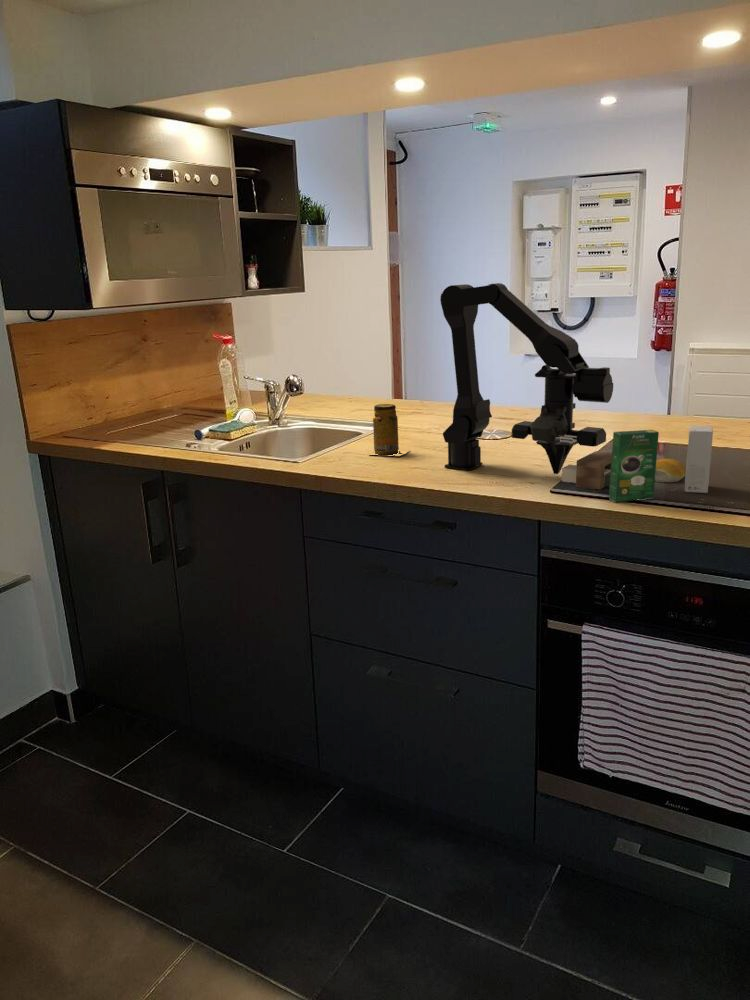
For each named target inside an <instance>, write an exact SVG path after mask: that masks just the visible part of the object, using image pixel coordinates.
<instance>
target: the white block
mask: <svg viewBox="0 0 750 1000" xmlns="http://www.w3.org/2000/svg"><path fill="white" fill-rule="evenodd" d="M576 469H577V464H568V465H566V466H564V467H562V468H561V482H564V483H570V482H573V483H572V484H576ZM610 475H611V470H609V469H605V472H604V487H606V486H609V487H608V488H610Z"/></svg>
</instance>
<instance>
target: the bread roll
mask: <svg viewBox="0 0 750 1000" xmlns="http://www.w3.org/2000/svg"><path fill="white" fill-rule="evenodd" d="M685 476H686V466H684V464H682V463H681V461H678V460H676V459H672V458H662V459H661V458H660V459H657V461H656V472H655V481H656V483H664V482H666V483H668V482H669V483H675V482H679V481H680V480H682V479H683V478H685ZM666 483H665V484H666Z"/></svg>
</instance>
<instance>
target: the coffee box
mask: <svg viewBox="0 0 750 1000" xmlns="http://www.w3.org/2000/svg"><path fill="white" fill-rule="evenodd" d="M659 436H660V435H659V431H657V430H654V429H642V430H641V429H639V430H626V431H625V430H623V431H622V430H621V431H613V433H612V447H611V453H612V460H611V475H610V487H609V491H608V492H609V495H608V496H609V497H608V499H609V500H610V501H611V502H612V503H620V502H622V503H626V502H632V501H633V500H635V501H638V500H637V499H645V498H653V499H654V495H655V472H656V461H657V460H658V459H657V458H658V447H659Z"/></svg>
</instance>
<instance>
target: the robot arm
mask: <svg viewBox="0 0 750 1000" xmlns="http://www.w3.org/2000/svg"><path fill="white" fill-rule="evenodd" d="M439 301H440V305H441V310H442V314H443V317H444V319H445V321H446V322H447V324H448V325H449V327H450V328H449V329H450V331H451V340H452V350H453V362H454V370H455V381H456V382H455V383H456V393H457V396H456V398H455V399H456V400H455V402H454V405H453V411H452V423H451V424H450V425H449V426H448V427H447V428H446V429H445V430H444V431H443V433H442V437H443V439H444V442H445V443H447V464H444V466H443V467H444V468H447V469H453V470H454V469H455V470H459V471H460V470H461V471H471V470H474V469H475V468H478V467H480V466H481V467H482V466H483V464H484V463H483V462H482V461H481V459H482V457H481V455H482V454H481V451H482V450H481V449H482V448H481V446H480V439H479V438H481V437H482V435H483V432H484V430H485V429H486V428H487V427H488V426H489V424H490V419H491V418H492V416H493V415H492V413H491V399H489V398H488V399H484V398H483V396H482V394H481V392H480V386H479V384H480V383H479V373H478V363H477V353H476V352H477V351H476V342H475V341H476V340H475V331H474V326H475V322H476V319H477V316H478V312H479V305H486V304H489V305H491V306H492V307H493V308H494V309H495V310H496V311H497V312H498V313H500V315H502V316H503V317H504V318H505V319H506V320H508V322H509V323H511V324H512V325H513V326H514V327H515V328H516V329H517V330H518V331H520V332H521V333H522V334H523V335H524V336H525V337H526V338H528V340H529V341H530V343H531V344H532V346H533V348H534V350H535V352H536V354H537V355H538V357H540V359H541V360H542V361H543V363H544V365H542V367H541V368H540V369H539V370H538V371H537V372H536V373H535V374H534V377H535V378H544V404H543V405H541V408H540V413H539V416H537V417H536V418H535V420H533V421H528V420H523V421H521V422H517V423H515V424H514V425H513V426H512V428H511V439H518V440H525V439H526V438H527V437H528V436H531V439H532V441H533V442H535V443H536V445H539V446H541V447H542V448H543V449H544V451H545V454H546V455H547V457H548V460H549V463H550V467H551V469H552V473H553V474H555V475H559V474H560V473H561V472H562V468H563V466H564V463H565V461H566V460H567V457H568V455H569V454H570V452H571V450H572V448H573V447H574V446H576V445H577V444H578V445H579V446H583V447H597V446H599V445H601V444H604V443H606V442H607V432H606V430H605V429H604V427H595V426H586V427H584V428H582V429H580V430H578V429H575V428H576V427H575V426H576V423H575V422H573V416H574V415H573V414H574V409H576V403H575V402H574V398H576V399H577V401H578V402H589V403H591V402H592V403H606V404H607V403H609V402H610V401H611V399H612V397H613V391H614V382H613V377H612V375H611V368H610V367H589V364H587V362H586V360H585V358H584V357H583V356H582V355H581V353H580V350H579V343H578V341H576V339H575V338H573V337H572V336H570V335H569V334H567V333H565V332H564V331H562V330H559V329H558V328H555V327H553V326H551V325H549V324H547V323H546V322H545V321H544V320H542V319H541V318H540V317H539V316H538V315H537V314H536V313H535V312H534V311H533V310H531V308H529V306H527V305H526V304H525V303H523V302H522V301H521V300H520V299H519V298H518V297H517V296H516V295H514V293H512V292H511V291H510V290H509V289H508V287H507V286H506V285H505V284H503V283H500V282H499V283H497V282H495V283H490V284H489V283H488V284H487V285H482V286H472V285H471V284H453V285H449V286H447V287H446V288H444V289H443V291H442V292H441V293H440V300H439Z"/></svg>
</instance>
